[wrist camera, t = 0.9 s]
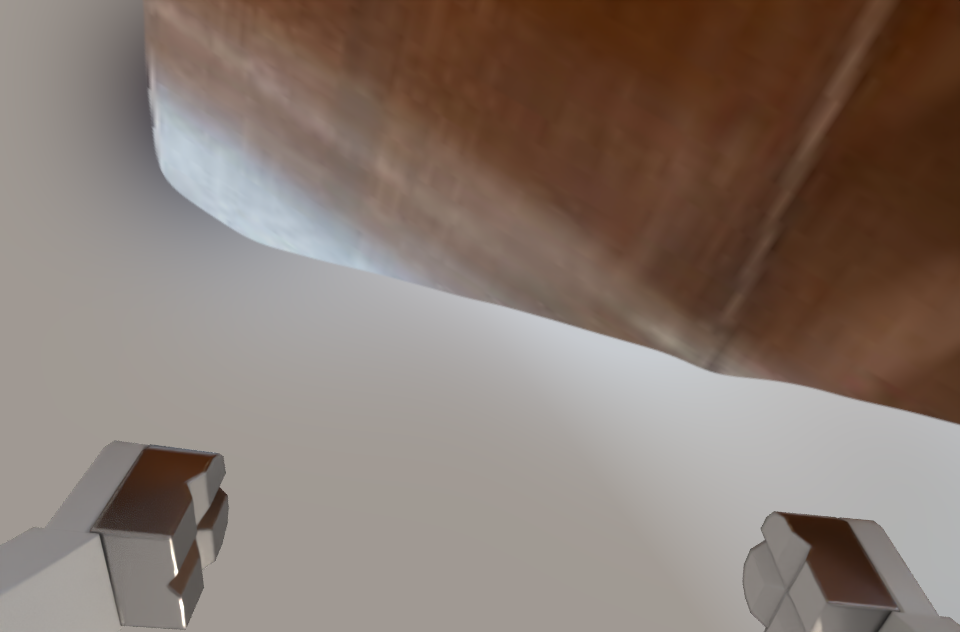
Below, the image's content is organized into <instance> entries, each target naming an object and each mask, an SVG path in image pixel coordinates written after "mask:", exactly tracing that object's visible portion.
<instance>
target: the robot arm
mask: <svg viewBox="0 0 960 632" xmlns="http://www.w3.org/2000/svg"><path fill="white" fill-rule="evenodd" d="M225 474H226V471H225V464H224V457H223V456H222V455H221V454H219V453H212V452H205V451H197V450H189V449H182V448H174V447H166V446H158V445H145V444H137V443H129V442H122V441H113V442H112V443H110V444H108V445H107V446H105V447H104V448H103V449H102V451H101V452H100V454H99V455H98V456H97V458H96V459H95V461H94V462H93V463H92V464H91V466H90V467H89V468H88V470H87V471H86V473H85V474H84V475H83V477H82V478H81V479H80V481H79V482H78V484H77V485H76V486H75V488H74V489H73V490H72V492H71V493H70V494H69V496H68V497H67V498H66V500H65V501H64V502H63V504H62V506H61V507H60V508H59V509H58V511H57V512H56V513H55V515H54V516H53V517H52V519H51V520H50V522H49V523H48V525H47V526H46V527H45V528H36V527H33V528H31V529H29V530H27V531H25V532H24V533H22V534H20V535H18V536H16V537H15V538H13V539H11V540H10V541H8V542H6V543H4V544H2V545H0V632H119V631H120V630H121V626H133V627H150V628H164V629H180V630H186V627H187V625H188V623H189V621H190V618H191V616H192V614H193V612H194V609H195V607H196V604H197V602H198V600H199V598H200V595H201V593H202V591H203V588H204V584H203V575H202V570H203V569H205V568H206V567H207V566H208V565H210V564H212V563H213V562H214V561H215V560H216V558H217V556H218V553H219V551H220V548H221V546H222V543H223V539H224V535H225V531H226V527H227V523H228V509H229V508H228V507H229V506H228V496H227V494H226V493H225V492H224V491H223V490H222V489H221V488H220V484H221V482H222V480H223V478H224V476H225ZM761 531H762V533H763V536H764V538H765V541H763V542H761V543H760V544H758V545H756V546H755V547H753V548H751V549H750V551H749V554H748V556H747V558H746V561H745V563H744V570H743V588H744V594H745V599H746V601H747V604H748V607H749V610H750V613H751V614H752V615H753V616H754V617H755V618H757V619H758V620H759V621H760V622H761V623H762V624H763V625H764V626H765V627H766V628H765V631H764V632H960V625H959V624H958V623H956V622H955V621H954V620H953V619H951V618H950V617H942V616H939V615H938V614H937V612H936V610H935V609H934V607H933V606H932V604H931V603H930V601H929V599H928V598H927V596H926V595H925V593H924V592H923V590H922V589H921V587H920V586H919V584H918V583H917V581H916V579H915V578H914V576H913V575H912V573H911V571H910V570H909V568H908V567H907V565H906V564H905V562H904V561H903V559H902V558H901V556H900V554H899V553H898V551H897V550H896V548H895V547H894V545H893V543H892V542H891V540H890V539H889V537H888V536H887V534H886V533H885V531H884V529H883V528H882V527H881V526H880V525H878V524H877V523H876V522H874V521H871V520H861V519H850V518H835V517H828V516H816V515H807V514H796V513H786V512H775V511H774V512H773V513H771V514H770V515H769V516H767V517H766V519H765V521H764V523H763V525H762V527H761Z"/></svg>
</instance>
